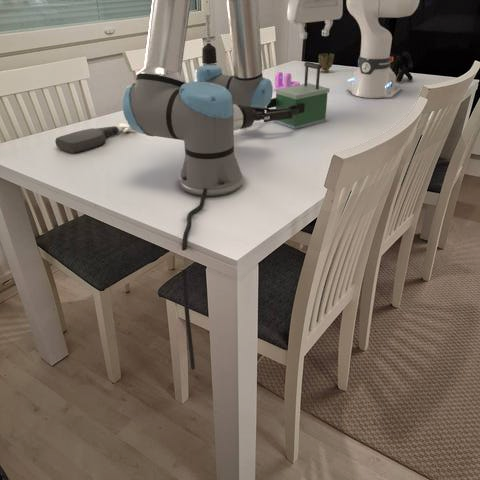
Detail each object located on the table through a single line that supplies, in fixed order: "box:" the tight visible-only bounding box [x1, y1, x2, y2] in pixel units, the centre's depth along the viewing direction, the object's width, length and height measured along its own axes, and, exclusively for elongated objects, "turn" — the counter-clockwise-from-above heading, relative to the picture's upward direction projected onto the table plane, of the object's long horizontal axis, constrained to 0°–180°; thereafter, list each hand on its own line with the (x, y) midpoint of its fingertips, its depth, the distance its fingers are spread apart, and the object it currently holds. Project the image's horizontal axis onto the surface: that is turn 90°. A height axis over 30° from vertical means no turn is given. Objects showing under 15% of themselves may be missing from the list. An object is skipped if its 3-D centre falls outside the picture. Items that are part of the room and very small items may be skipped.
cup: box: [318, 52, 335, 73], centre depth 215 cm, size 8×7×8 cm
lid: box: [275, 61, 330, 100], centre depth 144 cm, size 14×10×9 cm
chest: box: [274, 93, 329, 130], centre depth 149 cm, size 14×10×9 cm
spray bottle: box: [54, 123, 134, 154], centre depth 138 cm, size 3×11×24 cm
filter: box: [201, 14, 218, 66], centre depth 171 cm, size 6×6×30 cm
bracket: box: [274, 71, 301, 91], centre depth 190 cm, size 13×6×7 cm, turn 143°
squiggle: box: [390, 51, 414, 83], centre depth 198 cm, size 11×10×15 cm
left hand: (292, 104), depth 146 cm, fingers closed on chest, 10 cm apart
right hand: (314, 37), depth 140 cm, fingers open, 8 cm apart
